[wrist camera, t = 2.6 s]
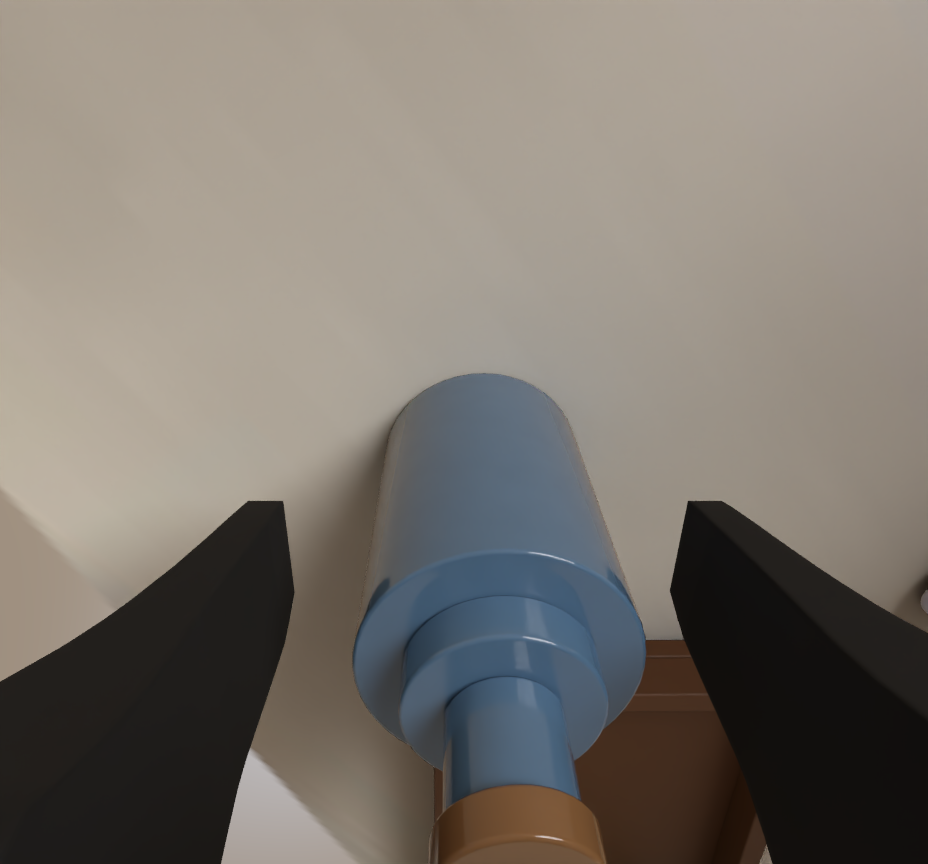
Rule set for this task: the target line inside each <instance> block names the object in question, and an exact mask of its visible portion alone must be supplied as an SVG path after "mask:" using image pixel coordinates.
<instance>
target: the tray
mask: <svg viewBox="0 0 928 864" xmlns="http://www.w3.org/2000/svg"><path fill="white" fill-rule="evenodd" d="M574 763H575V769H576V774H577V779H578V785H579V790H580V795H581V801H582V802H583V803H584V804H585V805H586V806H587V807H588V808H589V809H590V810H591V811H592V812H593V814H594V815H595V817H596V819H597V820H598V822H599V825H600V828H601V832H602V837H603V842H604V847H605V852H606V856H607V861H608V864H759V862H760V860H761V857H762V854H763V852H764V849H765V846H766V840H765V837H764V834H763V831H762V828H761V825H760V822H759V819H758V816H757V813H756V810H755V807H754V804H753V801H752V798H751V795H750V792H749V789H748V786H747V783H746V780H745V778H744V775H743V773H742V770H741V768H740V765H739V763H738V760H737V758H736V755H735V753H734V751H733V749H732V746H731V744H730V742H729V740H728V737H727V735H726V733H725V731H724V729H723V726H722V724H721V722H720V720H719V718H718V715H717V713H716V711H715V709H714V706H713V704H712V702H711V700H710V698H709V695H708V693H707V691H706V689H705V686H704V684H703V682H702V680H701V678H700V675H699V673H698V671H697V668H696V666H695V664H694V662H693V659H692V657H691V655H690V653H689V650H688V648H687V646H686V643H685V641H684V640H646V660H645V668H644V671H643V675H642V679H641V682H640V684H639V686H638V688H637V690H636V693H635V695H634V696H633V698H632V699H631V701H630V702H629V704H628V705H627V707H626V708H625V709H624V710H623V711H622V713H621V714H620V715H619V716H618V717H617V718H616V719H615V720H614V721H613V722H612V723H611V724H610V725H608V726H607V727H606V728H605V729H604V730H602V732H601V734H600V736H599V737H598V739H597V740H596V742H595V743H594V744H593V745H592V746H591V747H590V749H589V750H588V751H586V752H585V753H584V754H583V755H582V756H581V757H580V758H578V759H577V760H575V761H574ZM442 812H443V771H440V770H439V769H437V768H435V767H434V824H435V822H436V820H437V819H438V817H439V816H440V815H441V814H442Z"/></svg>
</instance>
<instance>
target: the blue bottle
mask: <svg viewBox="0 0 928 864" xmlns="http://www.w3.org/2000/svg"><path fill="white" fill-rule="evenodd" d="M645 660H646V640H645V634H644V630H643V627H642V623H641V620H640V617H639V615H638V612H637V609H636V606H635V603H634V601H633V598H632V595H631V592H630V590H629V587H628V584H627V581H626V578H625V576H624V573H623V570H622V567H621V565H620V562H619V559H618V556H617V553H616V551H615V548H614V545H613V542H612V539H611V537H610V534H609V531H608V528H607V526H606V523H605V520H604V517H603V514H602V512H601V509H600V506H599V503H598V501H597V498H596V495H595V492H594V489H593V487H592V484H591V481H590V478H589V475H588V473H587V470H586V467H585V464H584V462H583V459H582V456H581V453H580V450H579V448H578V445H577V442H576V439H575V437H574V434H573V431H572V428H571V426H570V424H569V422H568V420H567V418H566V416H565V415H564V413H563V412H562V410H561V409H560V408H559V407H558V406H557V404H556V403H555V402H554V401H553V400H552V399H551V398H550V397H548V396H547V395H546V394H545V393H544V392H542V391H540V390H539V389H537V388H536V387H534V386H532V385H530V384H528V383H526V382H524V381H522V380H519V379H516V378H512V377H509V376H504V375H499V374H486V373H482V374H468V375H463V376H457V377H454V378H451V379H448V380H445V381H442V382H440V383H438V384H436V385H433V386H432V387H430V388H428V389H427V390H425V391H423V392H422V393H421V394H419V395H418V396H417V397H416V398H414V399H413V400H412V401H411V402H410V403H409V404H408V405H407V406H406V407H405V408H404V410H403V411H402V412H401V414H400V415H399V417H398V418H397V420H396V422H395V424H394V426H393V427H392V430H391V432H390V435H389V438H388V442H387V448H386V453H385V459H384V465H383V471H382V478H381V484H380V490H379V496H378V502H377V508H376V514H375V520H374V526H373V532H372V538H371V544H370V550H369V556H368V562H367V568H366V574H365V580H364V586H363V592H362V598H361V604H360V610H359V616H358V622H357V628H356V634H355V640H354V646H353V652H352V669H353V674H354V680H355V683H356V686H357V689H358V692H359V694H360V697H361V699H362V700H363V702H364V704H365V706H366V707H367V709H368V710H369V712H370V713H371V714H372V715H373V717H374V718H375V719H376V720H377V721H378V722H379V723H380V724H381V725H382V726H383V727H384V728H385V729H386V730H387V731H388V732H390V733H391V734H392V735H394V736H395V737H396V738H398V739H399V740H401V741H403V742H404V743H406V744H408V745H410V746H411V748H412V749H413V750H414V751H415V752H416V753H417V754H418V755H419V756H420V757H421V758H422V759H423V760H424V761H426V762H427V763H429V764H430V765H432V766H433V767H435V768H437V769H439V770H440V771H443V812H442V814H441V815H440V816H439V817H438V819H437V820H436V822H435V824H434V826H433V828H432V830H431V833H430V837H429V854H428V864H608V861H607V856H606V852H605V847H604V842H603V837H602V832H601V828H600V825H599V822H598V820H597V819H596V817H595V815H594V814H593V812H592V811H591V810H590V809H589V808H588V807H587V806H586V805H585V804H584V803H583V802H582V801H581V795H580V790H579V785H578V779H577V774H576V769H575V763H574V761H575V760H577V759H578V758H580V757H581V756H582V755H583V754H584V753H585V752H586V751H588V750H589V749H590V747H591V746H592V745H593V744H594V743H595V742H596V740H597V739H598V737H599V736H600V734H601V732H602V730H604V729H605V728H606V727H607V726H608V725H610V724H611V723H612V722H613V721H614V720H615V719H616V718H617V717H618V716H619V715H620V714H621V713H622V711H623V710H624V709H625V708H626V707H627V705H628V704H629V702H630V701H631V699H632V698H633V696H634V695H635V693H636V690H637V688H638V686H639V684H640V682H641V679H642V675H643V671H644V668H645Z"/></svg>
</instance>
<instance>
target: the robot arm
mask: <svg viewBox="0 0 928 864" xmlns="http://www.w3.org/2000/svg"><path fill="white" fill-rule="evenodd" d="M670 593H671V596H672V600H673V604H674V607H675V611H676V614H677V618H678V621H679V625H680V628H681V631H682V634H683V638H684V641H685V643H686V646H687V648H688V650H689V653H690V655H691V657H692V659H693V662H694V664H695V666H696V668H697V671H698V673H699V675H700V678H701V680H702V682H703V684H704V686H705V689H706V691H707V693H708V695H709V698H710V700H711V702H712V704H713V706H714V709H715V711H716V713H717V715H718V718H719V720H720V722H721V724H722V726H723V729H724V731H725V733H726V735H727V737H728V740H729V742H730V744H731V746H732V749H733V751H734V753H735V755H736V758H737V760H738V763H739V765H740V768H741V770H742V773H743V775H744V778H745V780H746V783H747V786H748V789H749V792H750V795H751V798H752V801H753V804H754V807H755V810H756V813H757V816H758V819H759V822H760V825H761V828H762V831H763V834H764V837H765V840H766V844H767V847H768V850H769V853H770V857H771V860H772V863H773V864H928V633H926V632H924V631H923V630H921V629H919V628H917V627H915V626H913V625H911V624H910V623H908V622H906V621H904V620H902V619H900V618H898V617H897V616H895V615H893V614H891V613H890V612H888V611H886V610H885V609H883V608H881V607H879V606H878V605H876V604H874V603H873V602H871V601H870V600H868V599H866V598H865V597H863V596H862V595H860V594H858V593H857V592H855V591H854V590H852V589H850V588H849V587H847V586H846V585H844V584H842V583H841V582H839V581H838V580H836V579H835V578H833V577H832V576H830V575H829V574H827V573H826V572H824V571H823V570H821V569H820V568H818V567H817V566H815V565H814V564H812V563H811V562H809V561H808V560H806V559H805V558H804V557H802V556H801V555H799V554H798V553H796V552H795V551H794V550H792V549H791V548H789V547H788V546H786V545H785V544H784V543H782V542H781V541H779V540H778V539H777V538H775V537H774V536H772V535H771V534H770V533H768V532H767V531H765V530H764V529H763V528H761V527H760V526H758V525H757V524H756V523H754V522H753V521H751V520H750V519H748V518H747V517H746V516H744V515H743V514H741V513H740V512H738V511H737V510H735V509H734V508H732V507H731V506H729V505H727V504H726V503H724V502H722V501H688V504H687V509H686V514H685V519H684V524H683V529H682V533H681V538H680V543H679V548H678V553H677V558H676V563H675V568H674V573H673V578H672V583H671V588H670ZM293 598H294V584H293V576H292V568H291V560H290V552H289V544H288V536H287V528H286V520H285V512H284V504H283V501H248V502H247V503H245V504H244V505H243V506H242V507H241V508H239V509H238V510H237V511H236V512H235V513H234V514H233V515H232V516H230V517H229V518H228V519H227V520H226V521H225V522H224V523H223V524H222V525H221V526H219V527H218V528H217V529H216V530H215V531H214V532H213V533H212V534H211V535H209V536H208V537H207V538H206V539H205V540H204V541H203V542H201V543H200V544H199V545H198V546H197V547H196V548H195V549H193V550H192V551H191V552H190V553H189V554H188V555H186V556H185V557H184V558H183V559H182V560H181V561H180V562H178V563H177V564H176V565H175V566H174V567H172V568H171V569H170V570H169V571H167V572H166V573H165V574H164V575H162V576H161V577H160V578H158V579H157V580H156V581H155V582H153V583H152V584H151V585H149V586H148V587H147V588H146V589H144V590H143V591H142V592H141V593H139V594H138V595H137V596H135V597H134V598H133V599H132V600H130V601H129V602H128V603H126V604H125V605H124V606H122V607H121V608H119V609H118V610H117V611H115V612H114V613H112V614H111V615H109V616H108V617H107V618H105V619H104V620H102V621H101V622H99V623H98V624H96V625H95V626H93V627H92V628H90V629H89V630H87V631H86V632H84V633H82V634H81V635H79V636H78V637H76V638H75V639H73V640H72V641H70V642H69V643H67V644H66V645H64V646H62V647H61V648H59V649H57V650H55V651H53V652H52V653H50V654H48V655H46V656H45V657H43V658H41V659H39V660H38V661H36V662H34V663H33V664H31V665H29V666H27V667H25V668H24V669H22V670H20V671H18V672H17V673H15V674H13V675H11V676H10V677H8V678H6V679H4V680H2V681H1V682H0V864H221V860H222V856H223V851H224V847H225V842H226V837H227V833H228V829H229V824H230V820H231V816H232V812H233V807H234V802H235V798H236V794H237V789H238V785H239V782H240V779H241V775H242V772H243V768H244V765H245V761H246V758H247V755H248V752H249V749H250V746H251V743H252V740H253V737H254V734H255V731H256V728H257V725H258V722H259V719H260V716H261V713H262V710H263V708H264V705H265V702H266V699H267V696H268V693H269V690H270V687H271V684H272V681H273V678H274V675H275V672H276V669H277V665H278V662H279V659H280V656H281V653H282V650H283V647H284V644H285V639H286V634H287V629H288V625H289V620H290V614H291V609H292V603H293ZM920 604H921V606H922V608H923V610H924V611H925V612H926V613H927V614H928V589H927V590H926V591H925V592H924V594H923V595H922V597H921V602H920Z"/></svg>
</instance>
